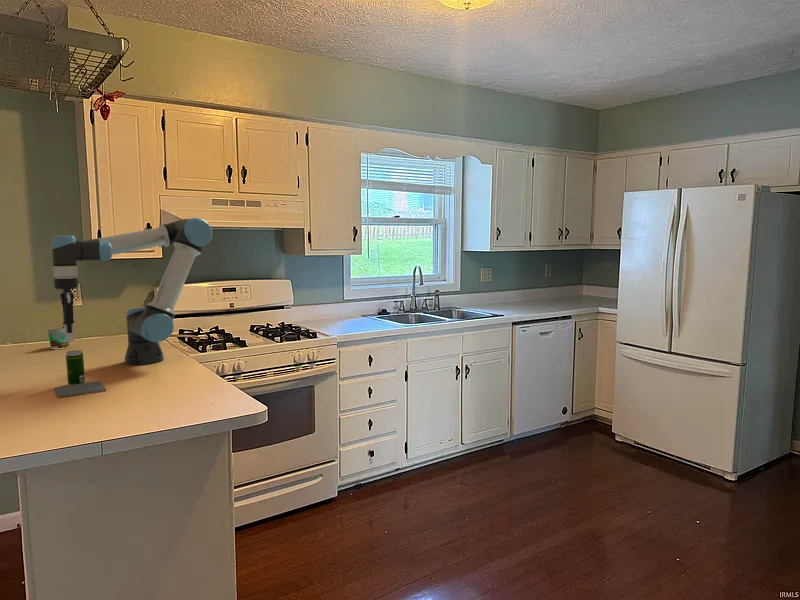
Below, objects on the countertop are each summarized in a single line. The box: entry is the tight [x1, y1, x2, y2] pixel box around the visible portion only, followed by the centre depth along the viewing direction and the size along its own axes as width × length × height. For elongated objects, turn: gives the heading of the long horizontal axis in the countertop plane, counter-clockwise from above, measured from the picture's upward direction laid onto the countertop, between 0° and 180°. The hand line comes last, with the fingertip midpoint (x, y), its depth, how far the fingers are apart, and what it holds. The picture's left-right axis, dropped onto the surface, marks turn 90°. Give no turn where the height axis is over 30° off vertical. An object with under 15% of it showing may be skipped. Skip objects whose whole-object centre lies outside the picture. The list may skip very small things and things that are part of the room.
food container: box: [47, 325, 70, 349], centre depth 269 cm, size 12×6×10 cm, turn 179°
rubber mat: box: [54, 380, 107, 398], centre depth 193 cm, size 14×14×1 cm
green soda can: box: [65, 349, 86, 386], centre depth 201 cm, size 5×5×12 cm
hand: (69, 341), depth 207 cm, fingers closed
